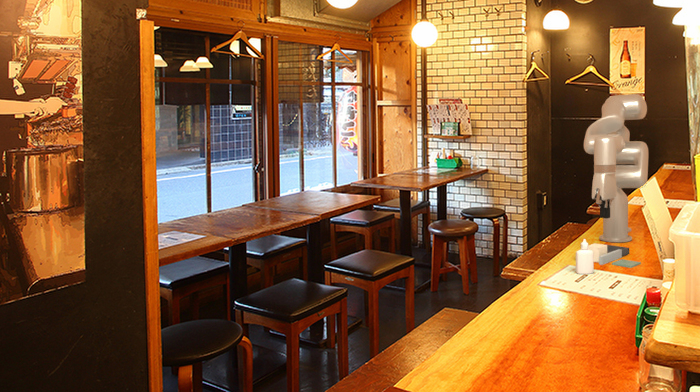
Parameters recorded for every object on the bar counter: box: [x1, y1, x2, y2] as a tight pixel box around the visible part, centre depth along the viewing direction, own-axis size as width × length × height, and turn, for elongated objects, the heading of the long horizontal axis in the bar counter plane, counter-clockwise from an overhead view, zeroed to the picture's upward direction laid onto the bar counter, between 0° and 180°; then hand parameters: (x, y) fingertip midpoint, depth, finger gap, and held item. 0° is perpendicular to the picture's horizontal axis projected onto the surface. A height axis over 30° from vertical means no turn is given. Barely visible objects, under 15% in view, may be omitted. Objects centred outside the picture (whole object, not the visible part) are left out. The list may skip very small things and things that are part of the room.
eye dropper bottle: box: [575, 238, 595, 275], centre depth 205 cm, size 4×6×12 cm
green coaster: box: [611, 258, 642, 269], centre depth 213 cm, size 7×7×1 cm
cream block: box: [588, 242, 608, 264], centre depth 221 cm, size 6×5×6 cm
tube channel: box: [598, 249, 623, 266], centre depth 222 cm, size 14×10×3 cm
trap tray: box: [603, 243, 630, 258], centre depth 229 cm, size 5×10×2 cm, turn 38°
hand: (605, 217), depth 223 cm, fingers closed
